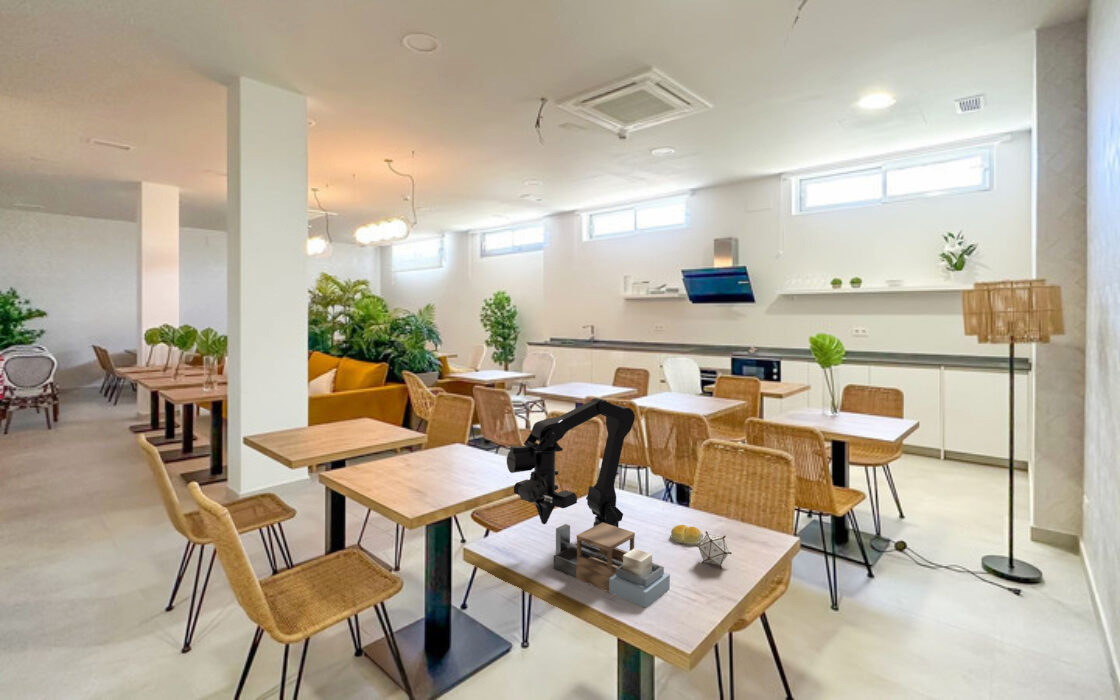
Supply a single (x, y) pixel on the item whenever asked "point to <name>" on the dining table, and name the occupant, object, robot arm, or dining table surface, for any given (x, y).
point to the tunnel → (589, 566)
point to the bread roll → (686, 535)
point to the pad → (639, 589)
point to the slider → (564, 543)
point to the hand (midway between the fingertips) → (544, 523)
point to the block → (638, 562)
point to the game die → (713, 549)
